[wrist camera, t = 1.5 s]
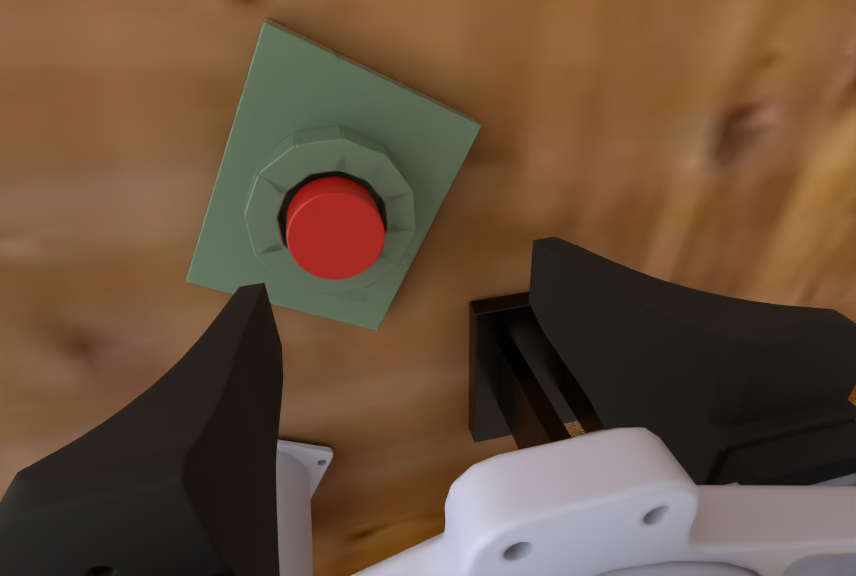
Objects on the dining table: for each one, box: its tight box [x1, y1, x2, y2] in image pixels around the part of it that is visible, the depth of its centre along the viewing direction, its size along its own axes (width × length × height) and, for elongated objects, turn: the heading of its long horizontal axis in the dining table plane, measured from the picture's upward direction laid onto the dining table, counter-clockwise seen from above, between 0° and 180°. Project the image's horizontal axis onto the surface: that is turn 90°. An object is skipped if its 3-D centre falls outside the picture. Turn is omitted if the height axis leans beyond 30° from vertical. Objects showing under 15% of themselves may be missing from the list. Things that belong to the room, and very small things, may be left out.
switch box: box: [186, 18, 481, 331], centre depth 21 cm, size 11×9×3 cm
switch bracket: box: [469, 292, 605, 450], centre depth 27 cm, size 10×8×10 cm
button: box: [286, 176, 385, 280], centre depth 20 cm, size 4×4×2 cm
